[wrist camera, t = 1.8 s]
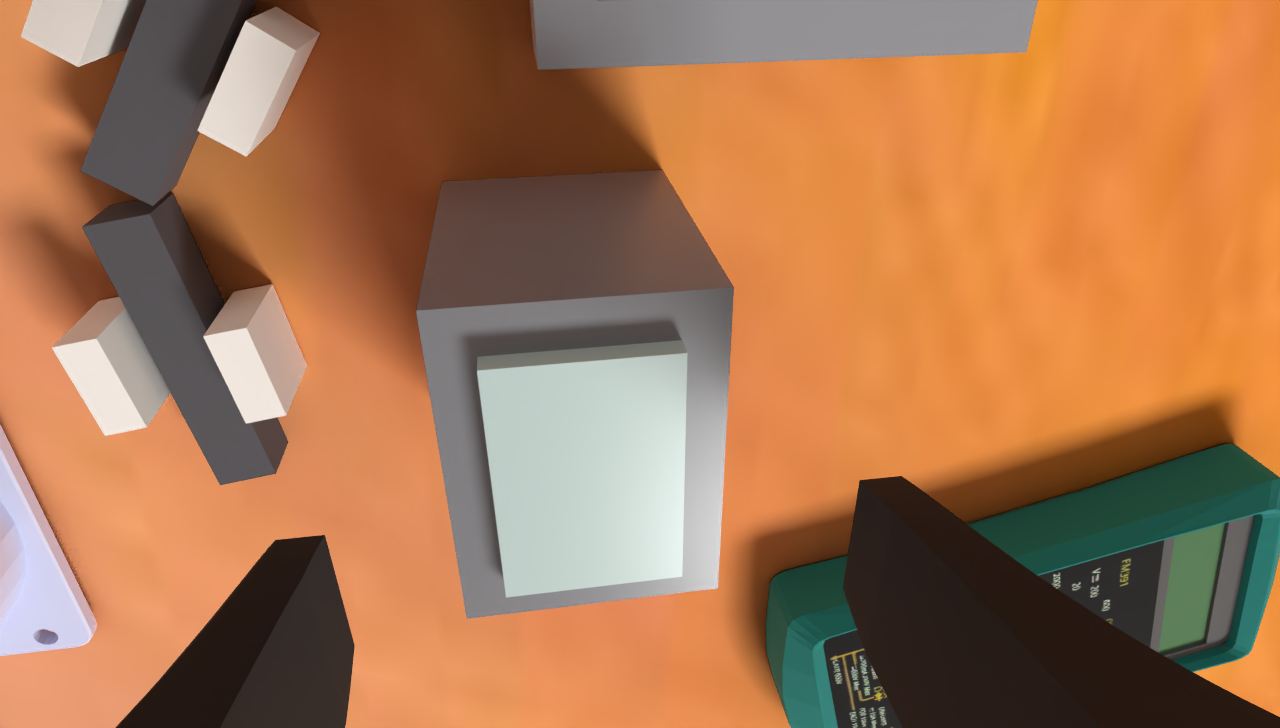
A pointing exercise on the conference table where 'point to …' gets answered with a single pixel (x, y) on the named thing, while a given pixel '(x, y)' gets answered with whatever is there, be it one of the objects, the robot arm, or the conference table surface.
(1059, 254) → the conference table surface
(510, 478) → the connector block
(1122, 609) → the digital multimeter
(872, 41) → the frame
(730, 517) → the conference table surface
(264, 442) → the routed cable
